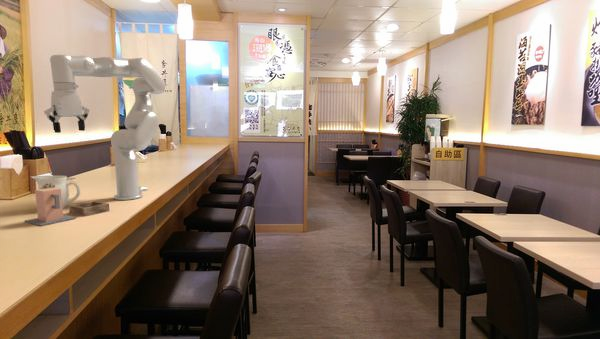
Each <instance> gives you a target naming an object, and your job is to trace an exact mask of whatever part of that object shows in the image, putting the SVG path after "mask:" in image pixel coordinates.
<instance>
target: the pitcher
mask: <svg viewBox="0 0 600 339" xmlns="http://www.w3.org/2000/svg"><path fill="white" fill-rule="evenodd" d="M30 178H31V179H33V180H34V181H36V182H37V184H38V188H37V190H39V189H46V188H58V189H61V197H62V208H63V209H65V208H66V206H67V204H69V203H72V202H75V201H76V200H77V199H78V198H79V197H80V195H81V188H80V185H79V184H78V183H77V182H76V181H72V180H71V181H68V182H67V179H68V176H67V175H61V174H60V175H59V174H58V175H33V176H30ZM71 185H73V186H74V187H75V188H76V194H75V196H74V197H72V198H69V197H70V190H69V189H70V188H69V186H71Z"/></svg>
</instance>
